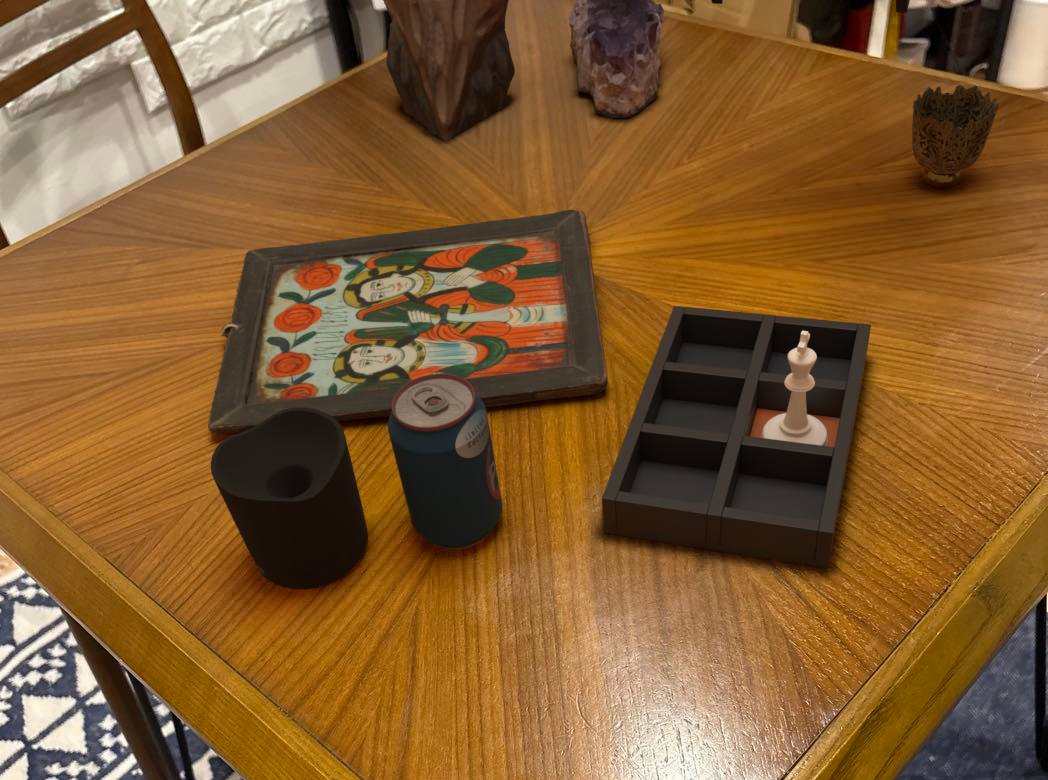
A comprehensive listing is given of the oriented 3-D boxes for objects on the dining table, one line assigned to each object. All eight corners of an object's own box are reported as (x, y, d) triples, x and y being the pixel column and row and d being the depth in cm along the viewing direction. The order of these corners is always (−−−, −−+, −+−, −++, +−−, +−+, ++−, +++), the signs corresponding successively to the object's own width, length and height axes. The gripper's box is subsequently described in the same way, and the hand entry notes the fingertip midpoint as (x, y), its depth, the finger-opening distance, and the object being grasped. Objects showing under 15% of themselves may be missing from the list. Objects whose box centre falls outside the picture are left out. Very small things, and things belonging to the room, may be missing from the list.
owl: (390, 106, 133) (355, -74, 118) (479, 71, 136) (456, -107, 122) (441, 143, 125) (410, -45, 110) (535, 105, 129) (516, -81, 114)
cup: (977, 160, 110) (994, 82, 104) (986, 200, 105) (1004, 119, 99) (899, 162, 111) (911, 84, 105) (903, 200, 106) (916, 121, 100)
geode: (687, 112, 123) (675, 25, 116) (585, 137, 125) (567, 53, 118) (663, 31, 137) (651, -52, 129) (572, 55, 139) (555, -26, 131)
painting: (622, 402, 92) (621, 379, 90) (209, 454, 93) (200, 433, 91) (584, 218, 110) (583, 196, 108) (241, 264, 112) (234, 243, 110)
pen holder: (268, 505, 87) (231, 408, 80) (384, 504, 86) (357, 405, 78) (237, 596, 81) (193, 500, 73) (361, 597, 79) (329, 499, 72)
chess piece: (752, 453, 84) (759, 347, 76) (771, 413, 86) (779, 306, 79) (817, 467, 82) (831, 360, 74) (834, 425, 85) (849, 318, 77)
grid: (865, 359, 91) (871, 323, 88) (828, 568, 76) (833, 533, 74) (674, 339, 95) (674, 305, 93) (604, 533, 81) (601, 498, 78)
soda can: (522, 525, 82) (503, 401, 74) (445, 570, 80) (417, 448, 71) (471, 477, 87) (447, 354, 78) (396, 519, 84) (363, 398, 76)
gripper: (1053, -275, 78) (983, 30, 80) (709, -262, 87) (653, 13, 88) (1066, -354, 71) (988, -17, 73) (690, -331, 80) (629, -31, 81)
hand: (804, 0), depth 81 cm, fingers open, 13 cm apart
